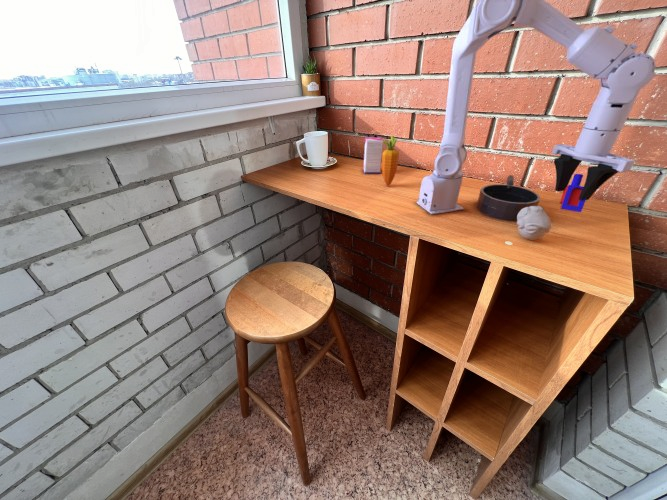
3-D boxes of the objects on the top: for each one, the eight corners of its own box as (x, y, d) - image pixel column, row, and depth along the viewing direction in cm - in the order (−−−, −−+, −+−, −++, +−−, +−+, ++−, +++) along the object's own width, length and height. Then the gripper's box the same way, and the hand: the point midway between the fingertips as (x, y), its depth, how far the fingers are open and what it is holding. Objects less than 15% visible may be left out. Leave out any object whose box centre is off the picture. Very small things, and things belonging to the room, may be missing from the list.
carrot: (388, 190, 88) (393, 139, 80) (376, 186, 91) (379, 136, 83) (398, 186, 91) (404, 136, 82) (386, 182, 94) (390, 134, 86)
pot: (502, 224, 67) (508, 206, 65) (465, 203, 78) (469, 187, 76) (546, 216, 70) (553, 199, 68) (505, 197, 81) (510, 182, 79)
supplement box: (380, 173, 101) (383, 140, 95) (364, 174, 102) (365, 140, 95) (378, 169, 106) (381, 136, 100) (363, 169, 107) (364, 137, 100)
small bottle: (576, 214, 63) (588, 178, 62) (581, 212, 60) (595, 174, 58) (556, 210, 65) (568, 176, 64) (560, 208, 61) (573, 171, 60)
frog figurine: (529, 229, 65) (540, 200, 61) (552, 244, 59) (566, 214, 56) (504, 231, 65) (514, 202, 61) (525, 247, 59) (537, 216, 55)
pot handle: (511, 191, 76) (513, 186, 75) (505, 190, 77) (507, 185, 76) (512, 180, 84) (514, 174, 83) (506, 179, 85) (508, 174, 84)
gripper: (661, 133, 50) (621, 205, 57) (580, 121, 62) (555, 182, 69) (632, 136, 48) (594, 209, 56) (555, 124, 60) (532, 185, 67)
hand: (571, 194), depth 62 cm, fingers closed on small bottle, 5 cm apart
